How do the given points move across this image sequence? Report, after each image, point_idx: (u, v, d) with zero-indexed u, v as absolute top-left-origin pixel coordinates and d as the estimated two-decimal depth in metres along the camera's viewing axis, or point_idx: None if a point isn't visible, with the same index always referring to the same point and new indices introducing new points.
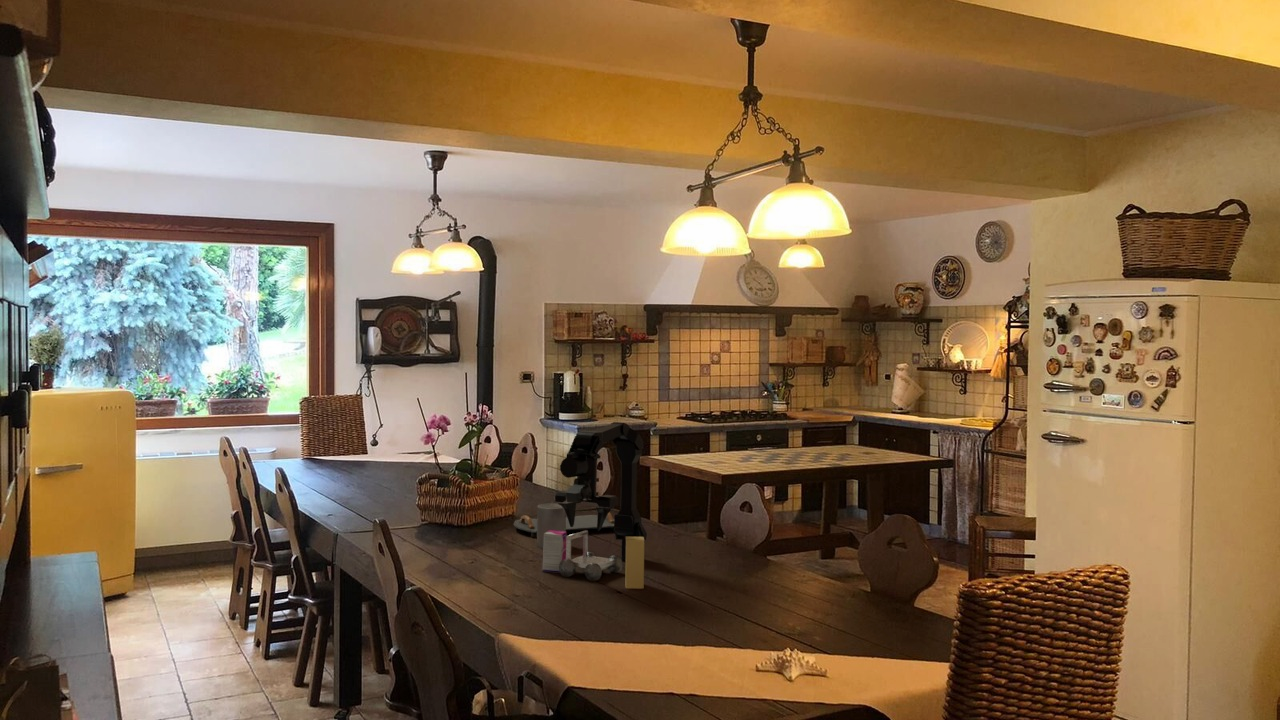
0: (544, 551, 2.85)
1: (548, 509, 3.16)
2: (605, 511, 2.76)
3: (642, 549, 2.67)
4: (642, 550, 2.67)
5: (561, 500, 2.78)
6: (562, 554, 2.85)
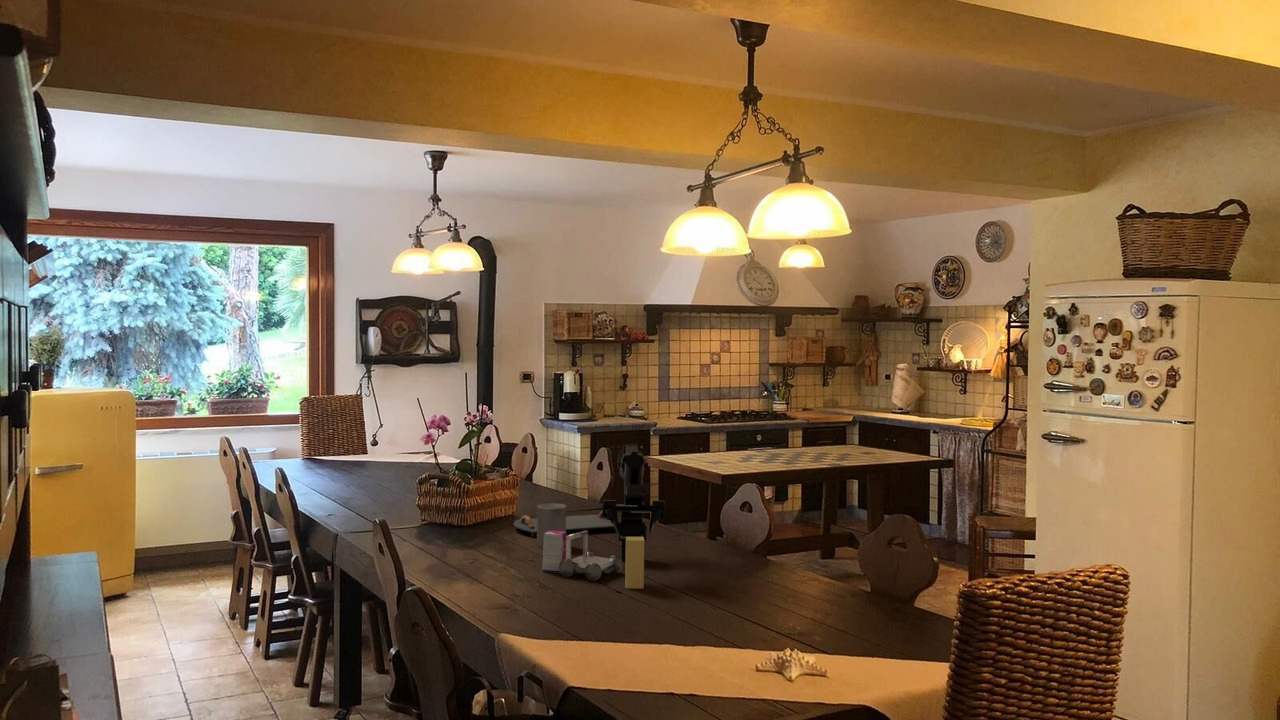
0: (544, 551, 2.85)
1: (548, 509, 3.16)
2: (654, 519, 2.82)
3: (642, 549, 2.67)
4: (642, 550, 2.67)
5: (612, 504, 2.81)
6: (562, 554, 2.85)
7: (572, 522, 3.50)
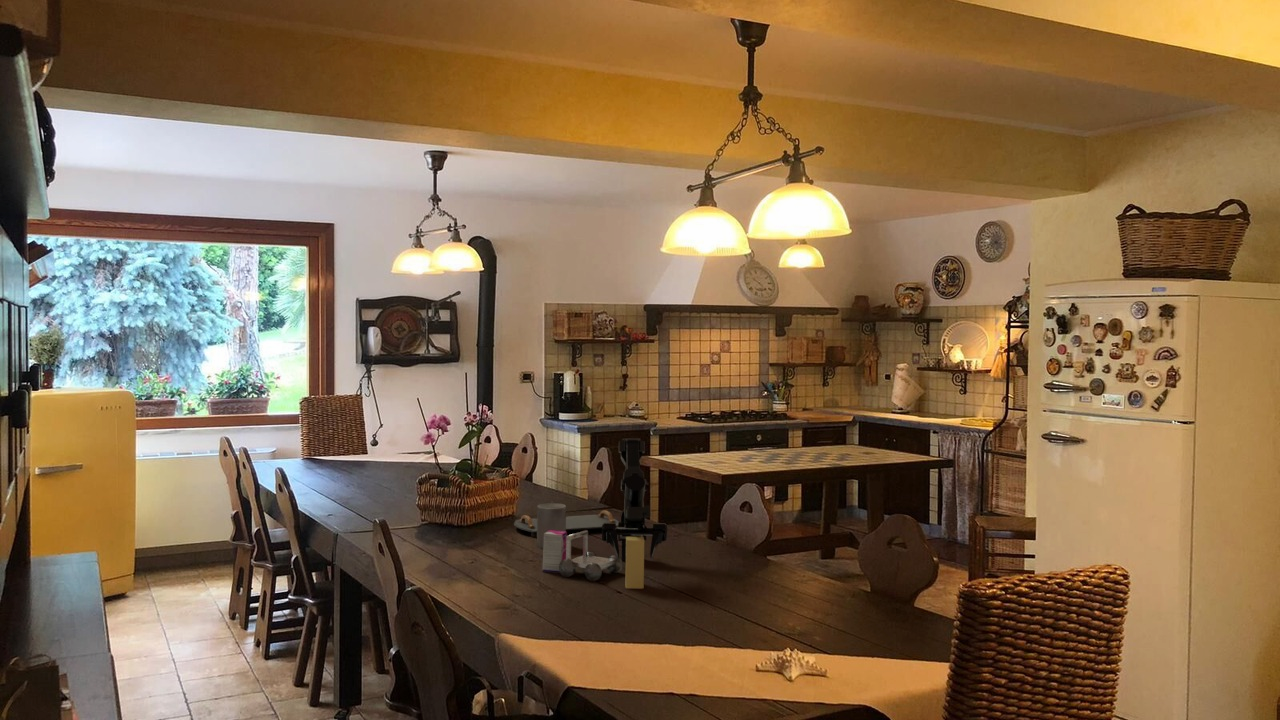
0: (544, 551, 2.85)
1: (548, 509, 3.16)
2: None
3: (642, 549, 2.67)
4: (642, 550, 2.67)
5: (612, 527, 2.73)
6: (562, 554, 2.85)
7: (572, 522, 3.50)
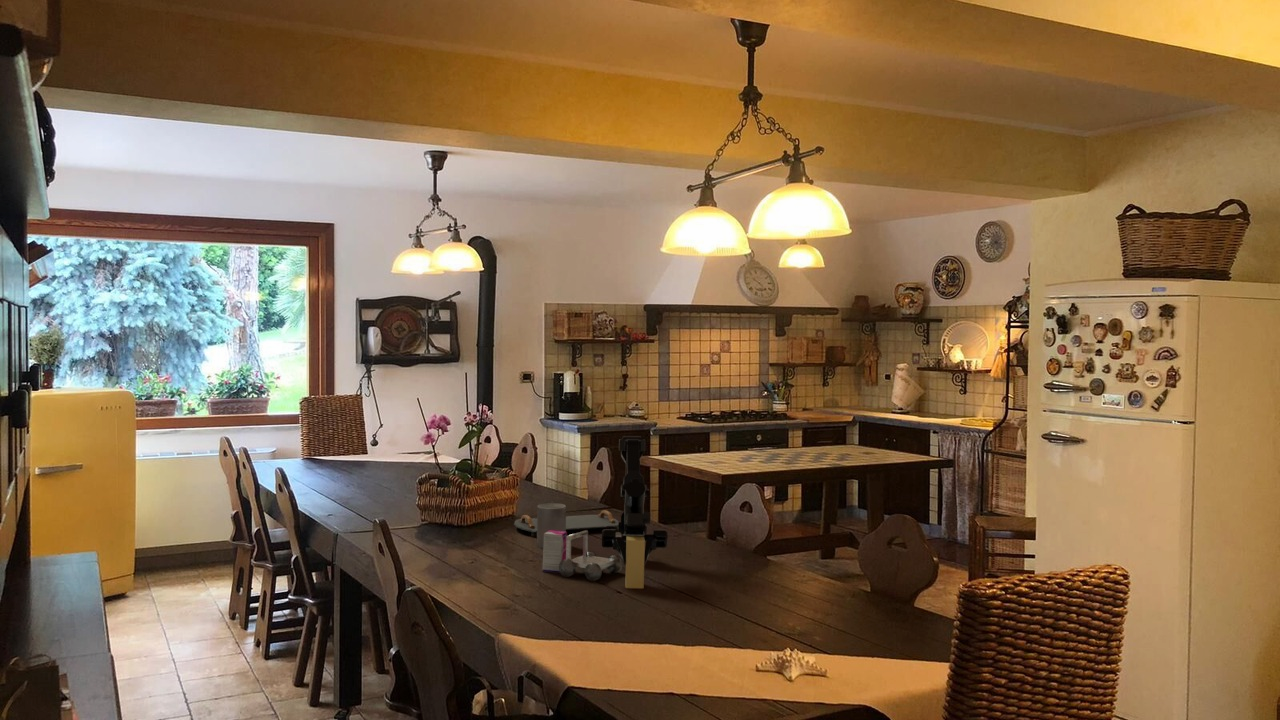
0: (544, 551, 2.85)
1: (548, 509, 3.16)
2: (649, 549, 2.73)
3: (642, 549, 2.67)
4: (642, 550, 2.67)
5: (612, 533, 2.72)
6: (562, 554, 2.85)
7: (572, 522, 3.51)
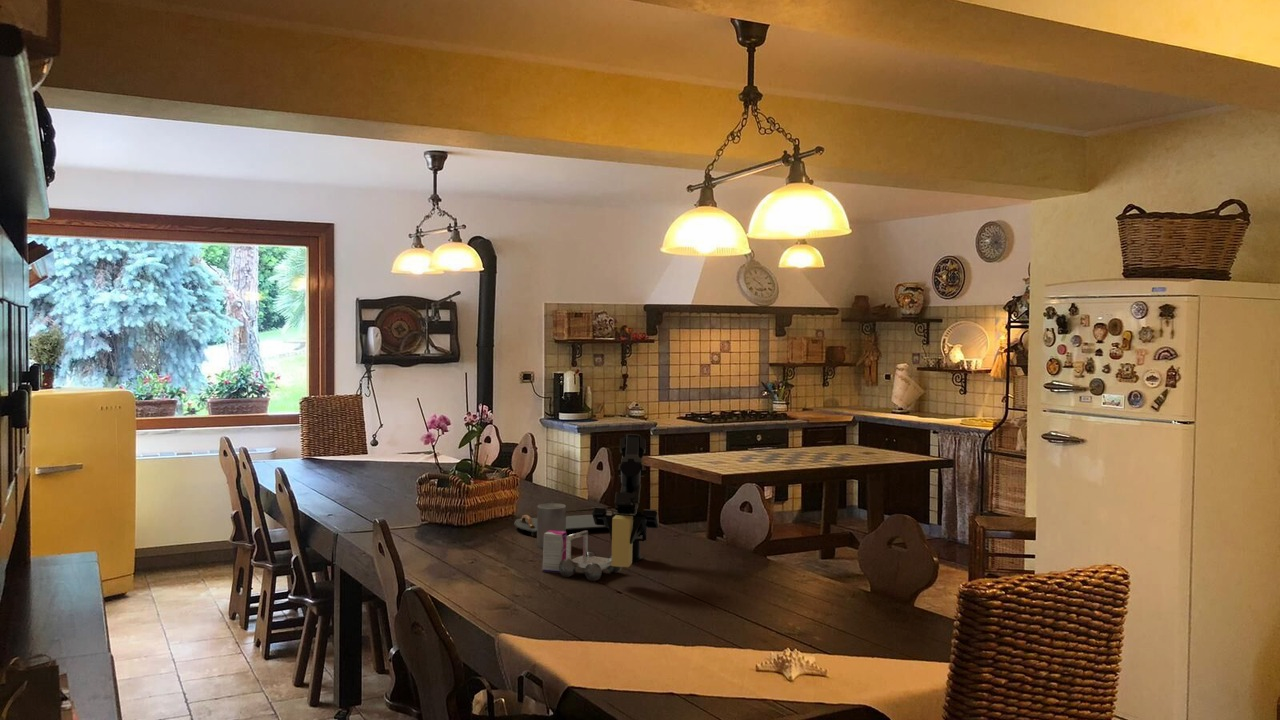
0: (544, 551, 2.85)
1: (548, 509, 3.16)
2: (638, 529, 2.73)
3: (627, 528, 2.68)
4: (627, 529, 2.68)
5: (601, 511, 2.74)
6: (562, 554, 2.85)
7: (572, 522, 3.51)
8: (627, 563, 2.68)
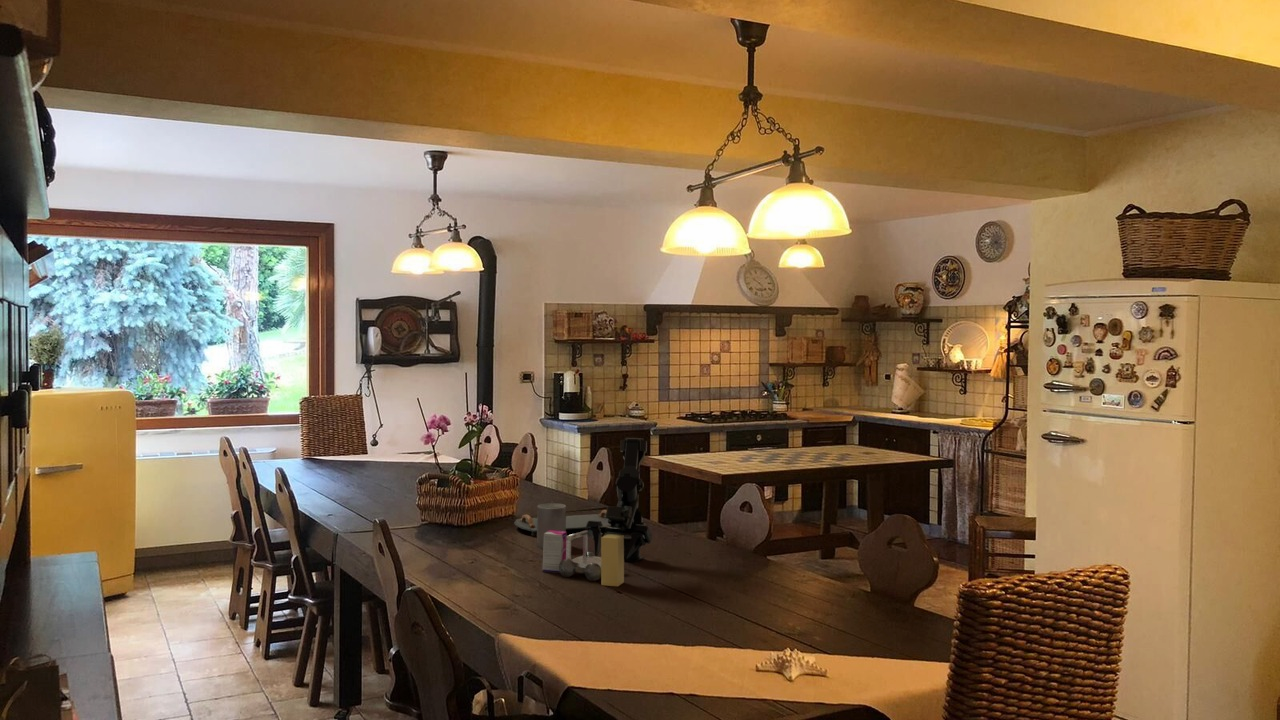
0: (544, 551, 2.85)
1: (548, 509, 3.16)
2: (636, 544, 2.73)
3: (616, 547, 2.69)
4: (616, 548, 2.69)
5: (594, 525, 2.76)
6: (562, 554, 2.85)
7: (573, 521, 3.51)
8: (616, 582, 2.69)
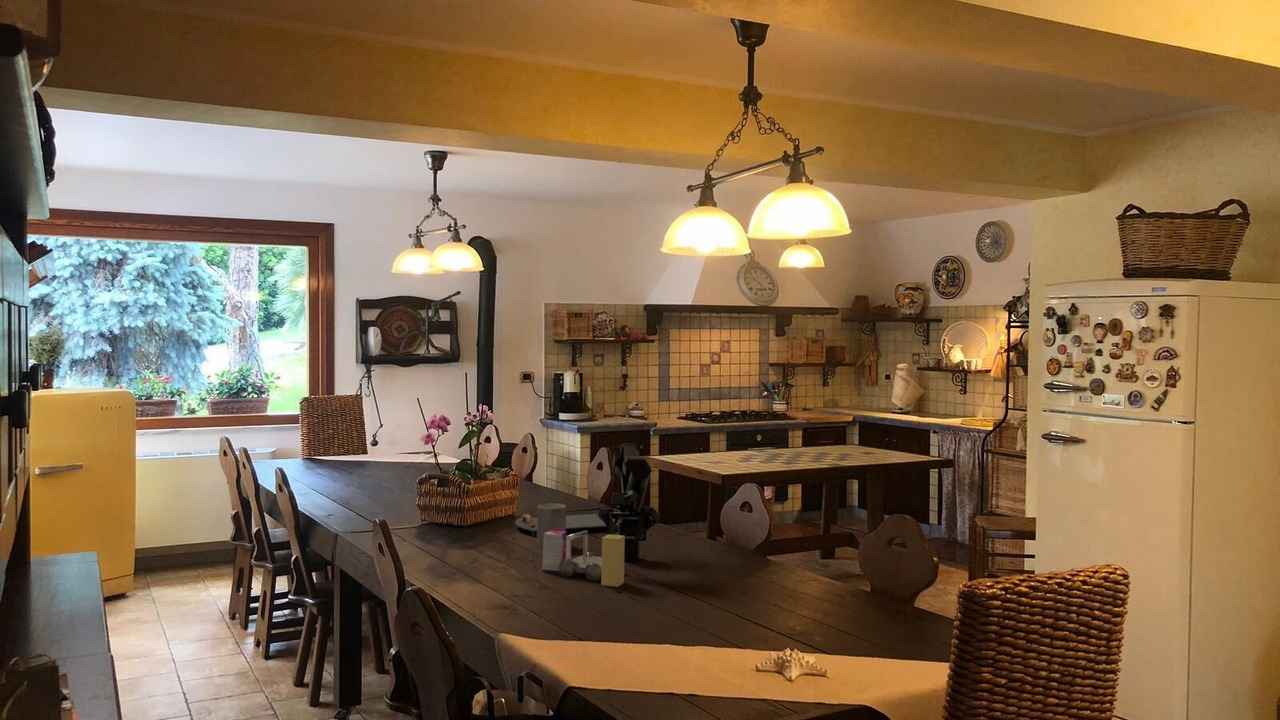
0: (544, 551, 2.85)
1: (548, 509, 3.16)
2: (645, 526, 2.81)
3: (616, 547, 2.69)
4: (616, 548, 2.69)
5: (604, 512, 2.86)
6: (562, 554, 2.85)
7: (573, 521, 3.52)
8: (616, 582, 2.69)
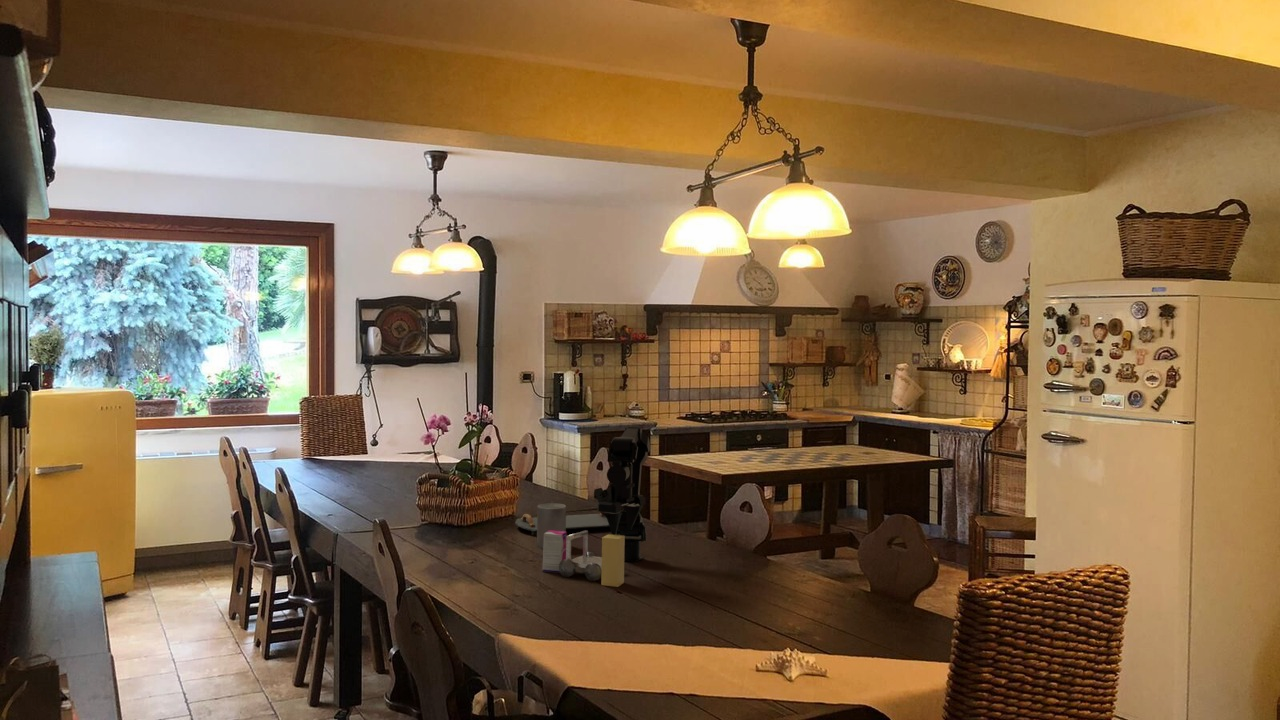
0: (544, 551, 2.85)
1: (548, 509, 3.16)
2: (614, 517, 2.80)
3: (616, 547, 2.69)
4: (616, 548, 2.69)
5: None
6: (562, 554, 2.85)
7: (573, 521, 3.52)
8: (616, 582, 2.69)
